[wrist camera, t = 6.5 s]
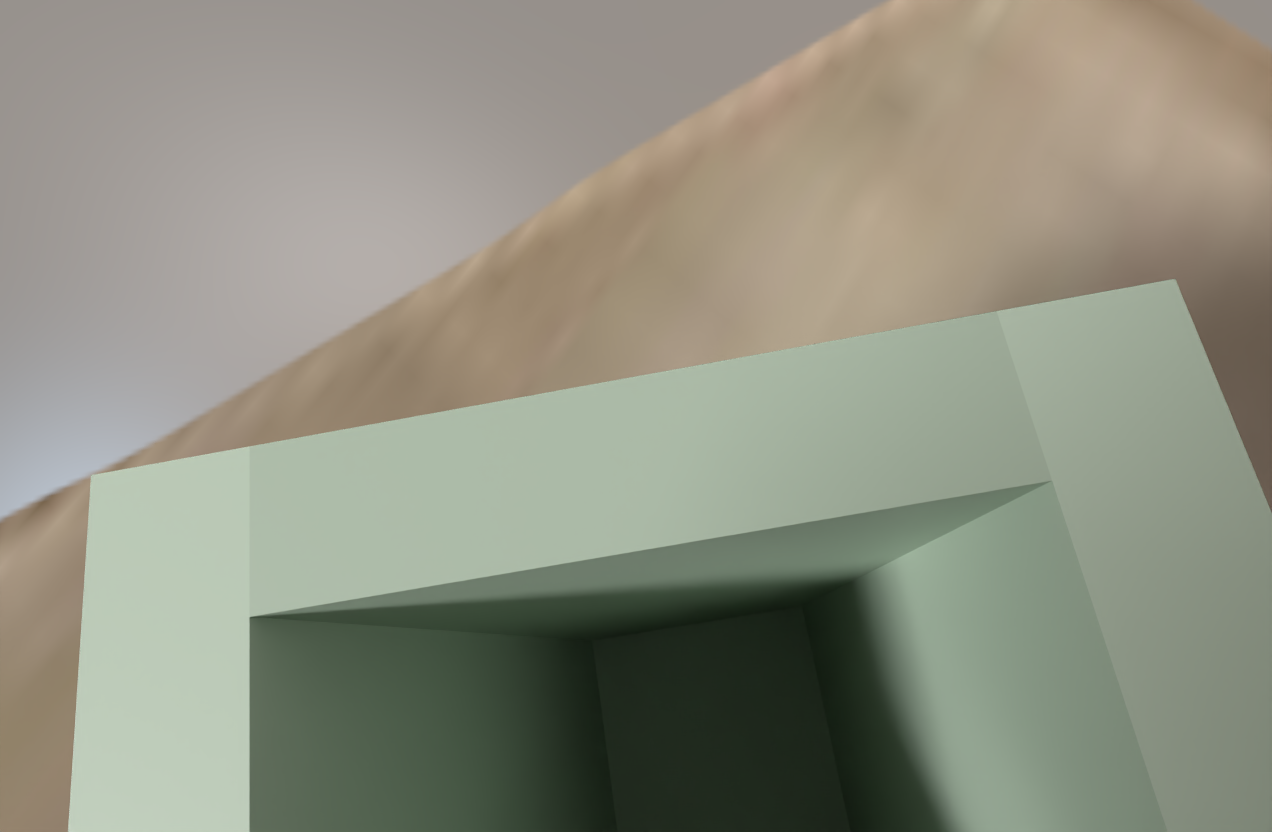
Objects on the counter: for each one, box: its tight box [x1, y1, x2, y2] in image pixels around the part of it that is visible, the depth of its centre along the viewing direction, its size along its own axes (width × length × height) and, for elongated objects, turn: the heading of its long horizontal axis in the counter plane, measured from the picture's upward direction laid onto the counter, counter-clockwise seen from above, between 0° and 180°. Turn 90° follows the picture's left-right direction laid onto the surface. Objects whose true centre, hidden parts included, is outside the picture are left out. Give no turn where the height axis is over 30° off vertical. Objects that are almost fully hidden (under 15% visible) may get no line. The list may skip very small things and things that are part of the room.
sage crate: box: [68, 279, 1272, 832], centre depth 9 cm, size 6×6×12 cm
